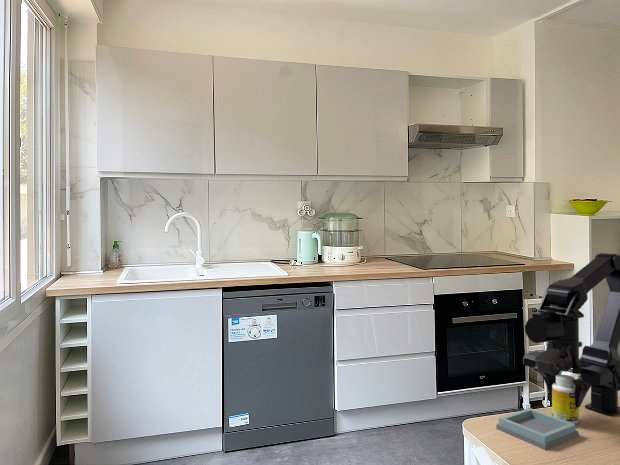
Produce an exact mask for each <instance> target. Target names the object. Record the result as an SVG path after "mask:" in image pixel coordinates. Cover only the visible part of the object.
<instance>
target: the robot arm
mask: <svg viewBox="0 0 620 465" xmlns="http://www.w3.org/2000/svg"><path fill="white" fill-rule="evenodd" d="M604 279H605V281H606V284H607V286H608V289H609V291H608V296H607V299H606V302H605V306H604V308H603V309H604V310H603V313H602V316H601V320H600V323H599V326H598V331H597V333H596V336H595V339H594V340H595V341H594V342H593V343H592V344H590V345H589V346H588V345H584V347H583V342H582V341H580V334H579V331H580V324H579V321H580V320H579V319H581V318H584V317H585V314H584V313H583V312H581V311H580V309H581V308H582V307H583V306H584V305H585V303H586V302H587V301H588V299H589V297H588V293H589V292H590V291H591V290H592V289H594V288H595V287H596V286H598V284H600V283H601V282H602V281H603V280H604ZM536 310H537V311H534V312H532V317H531V318H530V317H529V319H528V320H527V321H526V323H525V325H524V332H525V335H526V336H527V338H528V339H529V340H530V341H531V342H533V343H535V344H541V343H546V344H547V346H546V350H543V351H537V350H536V351H532V352H527V353H525V354H524V356H523V358H522V365H523V366H526V367H529V368H532V369H533V371H534V372H536V373H538V374H539V375H540V376H541V377H542V379H543V381H544V383H545V385H546V386H545V387H546V388H547V390H548V393H549V396H550V398H551V400H552V385H553V384H554V383H556V376H557V375H560V373H561V372H565V373H566V372H568V373H571V374H575V375H577V378H575V380H572V381H573V383H574V384H575V405H576V407H577V408H578V407H579V408H580V407H581V405H582V403H583V402H584V399H585V397H586V396H587V393H588V391H589V390H590V403H587V404H585V405H584V408H586V409H589V410H592V411H595V412H596V413H597V412H598V413H600V414H604V415H607V416H611V417H612V416H615V415H617V414H620V406H619V392H620V354H619V350H618V348H619V346H620V345H619V344H620V255H619V254H618V253H607V252H605V253H603V252H600V253H598V254H596V255H595V256H594V259H592V260H591V261H590V262H588V263H587V264H586V265H585V266H583V267H582V268H581V269H580V270H578V271H577V272H576V273H574V274H573V275H572V276H571V277H568V278H564V279H559V280H557V281H554V282H553V283H550V284H549V285H548V286H547V288H546V291H545V292H544V295H543V296H542V299H541V301H540V303H539V306H538V307H537V309H536ZM580 348H582V353H581V356H580Z"/></svg>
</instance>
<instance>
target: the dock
mask: <svg viewBox="0 0 620 465" xmlns="http://www.w3.org/2000/svg"><path fill="white" fill-rule="evenodd" d="M495 426H496V427H495V428H496V429H497V430H498V431H500V432H503V433H506V434H508V435H510V436H512V437H515V438H517V439H520V440H521V441H524V442H527V443H529V444H531V445H532V446H535V447H538V448H541V449H542V450H545V451H546V450H548V449H551V448H553V447H556V446H558V445H561V444H563V443H565V442H568V441H570V440H573V439H575V438H577V437H579V431H578V430H576V427H577V426H576V423H574V424H573V423H570V422H567V421H564V420H562V419H559V418H556V417H553V416H552V414H551V415H550V414H547V413H545V412H542V411H539V410H536V409H533V408H531V407H528V408H525V409H522V410H520V411H516V412H514V413H510V414H508V415H504V416H501V417H499V418H498V423H497V424H496V425H495Z"/></svg>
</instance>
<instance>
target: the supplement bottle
mask: <svg viewBox="0 0 620 465" xmlns="http://www.w3.org/2000/svg"><path fill="white" fill-rule="evenodd" d="M575 379H576V378H575V377H574V376H571V375H568V374H558V375H557V376H556V383H554V384H553V385H552V399H551V402H552V404H551V407H552V408H551V416H553V417H556V418H559V419H562V420H564V421H567V422H570V423H573V424H577V423H578V422H579V418H580V417H579V416H580V413H579V412H580V409H579V408H580V407H578V408H577V407H576V405H575V384H574V383H573V381H572V380H575Z"/></svg>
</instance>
